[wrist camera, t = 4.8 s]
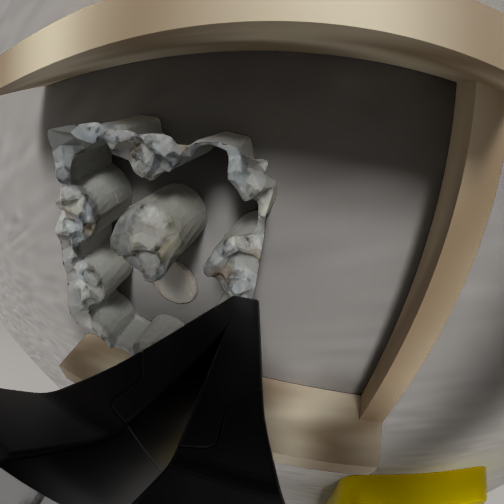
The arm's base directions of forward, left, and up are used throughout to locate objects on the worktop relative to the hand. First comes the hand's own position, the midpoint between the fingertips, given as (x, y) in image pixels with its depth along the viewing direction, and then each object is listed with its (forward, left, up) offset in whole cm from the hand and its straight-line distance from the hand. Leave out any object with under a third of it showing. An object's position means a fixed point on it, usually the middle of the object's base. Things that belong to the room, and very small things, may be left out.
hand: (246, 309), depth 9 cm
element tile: (-16, +26, -3) cm, 31 cm away
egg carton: (+4, 0, -3) cm, 5 cm away
